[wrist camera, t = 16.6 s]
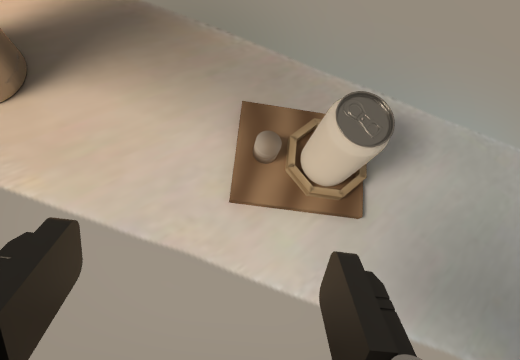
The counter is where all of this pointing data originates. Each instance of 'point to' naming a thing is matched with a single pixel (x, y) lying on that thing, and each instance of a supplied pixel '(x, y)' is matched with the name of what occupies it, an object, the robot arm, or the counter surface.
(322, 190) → the board
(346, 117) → the can
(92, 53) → the counter surface
